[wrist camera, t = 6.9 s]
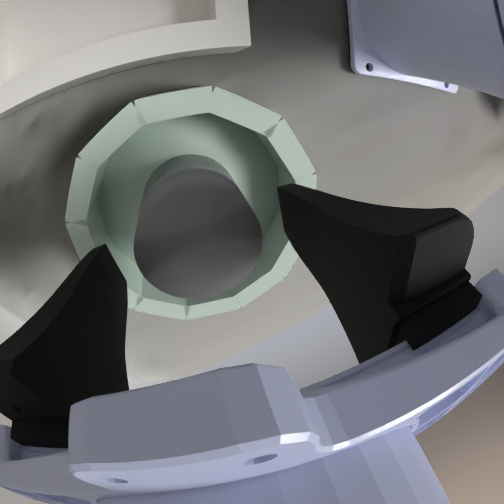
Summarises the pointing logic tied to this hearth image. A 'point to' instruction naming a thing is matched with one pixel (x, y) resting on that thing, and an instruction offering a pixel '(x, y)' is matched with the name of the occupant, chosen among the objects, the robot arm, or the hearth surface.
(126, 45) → the parts tray
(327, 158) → the hearth surface
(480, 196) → the hearth surface
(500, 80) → the robot arm
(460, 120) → the hearth surface
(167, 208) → the grey short cylinder
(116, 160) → the sage bowl
